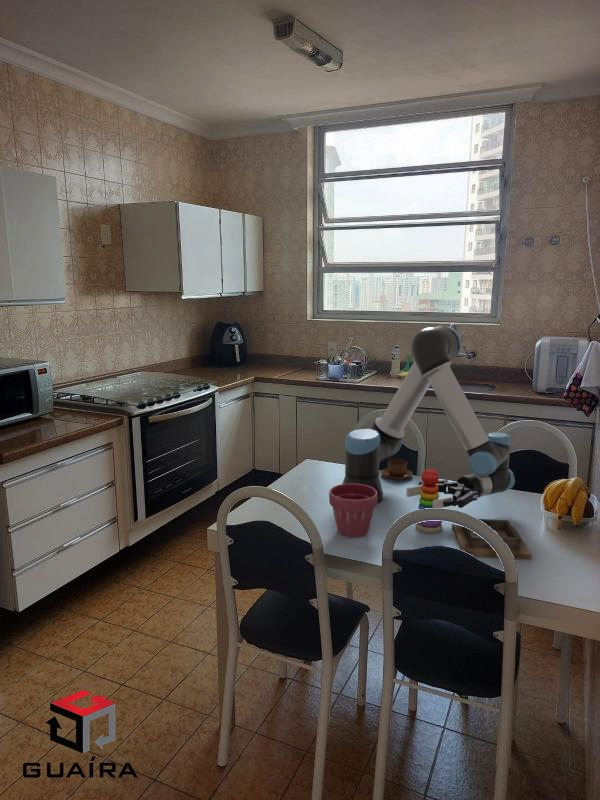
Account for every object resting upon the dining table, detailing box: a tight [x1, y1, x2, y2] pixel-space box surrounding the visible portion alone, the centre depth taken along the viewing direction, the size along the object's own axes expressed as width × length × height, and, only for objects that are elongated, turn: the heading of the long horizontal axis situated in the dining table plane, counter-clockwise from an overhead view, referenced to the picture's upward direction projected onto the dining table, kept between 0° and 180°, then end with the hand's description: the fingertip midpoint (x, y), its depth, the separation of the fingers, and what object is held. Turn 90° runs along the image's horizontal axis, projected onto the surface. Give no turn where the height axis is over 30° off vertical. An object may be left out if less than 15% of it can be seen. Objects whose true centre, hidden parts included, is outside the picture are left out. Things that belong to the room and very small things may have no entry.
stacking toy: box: [415, 468, 443, 535], centre depth 165 cm, size 8×8×19 cm
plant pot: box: [328, 483, 378, 539], centre depth 164 cm, size 14×14×13 cm
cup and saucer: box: [380, 458, 414, 480], centre depth 215 cm, size 12×12×6 cm
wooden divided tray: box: [451, 518, 533, 560], centre depth 157 cm, size 18×18×4 cm
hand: (420, 498), depth 163 cm, fingers open, 11 cm apart
